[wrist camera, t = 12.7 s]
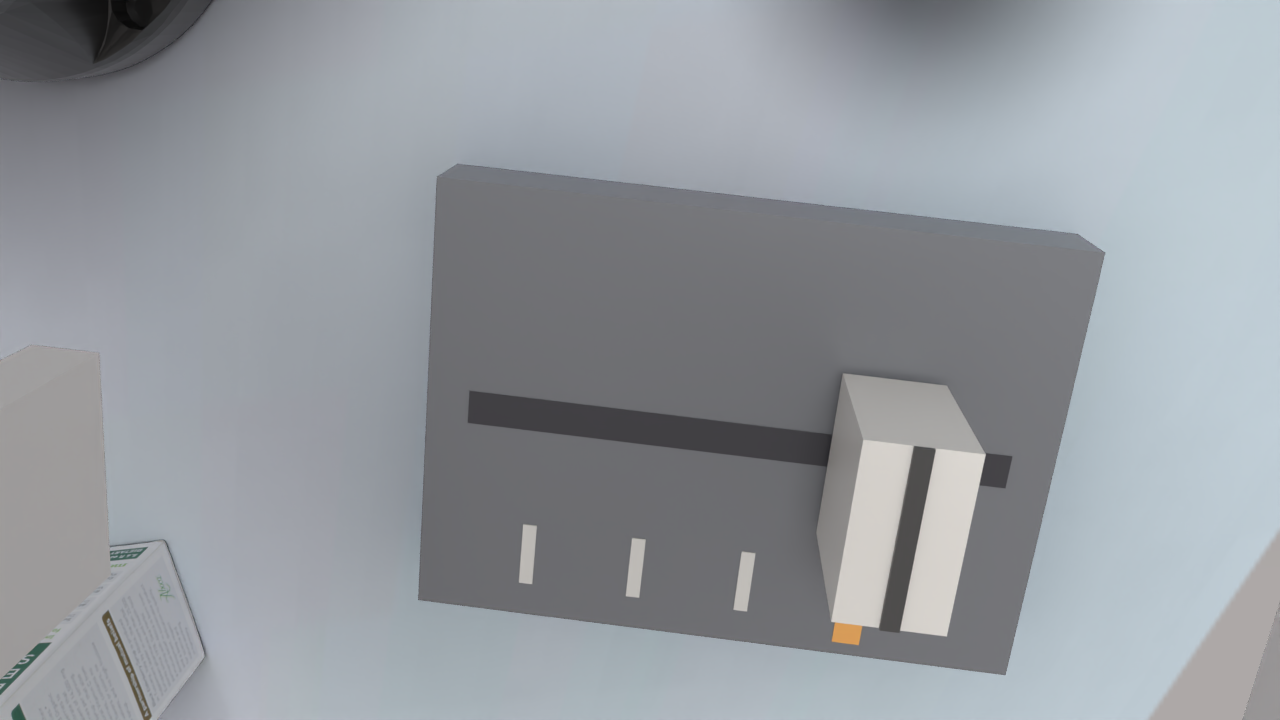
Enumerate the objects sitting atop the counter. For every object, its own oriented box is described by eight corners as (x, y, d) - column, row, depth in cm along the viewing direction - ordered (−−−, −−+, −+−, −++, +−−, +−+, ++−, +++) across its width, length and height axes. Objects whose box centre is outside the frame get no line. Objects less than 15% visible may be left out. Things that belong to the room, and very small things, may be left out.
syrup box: (167, 534, 46) (-73, 766, 32) (211, 659, 47) (1, 930, 34) (39, 554, 46) (-250, 789, 33) (88, 677, 48) (-168, 949, 34)
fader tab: (816, 532, 40) (831, 624, 34) (842, 373, 38) (863, 441, 32) (915, 544, 40) (947, 639, 34) (946, 385, 38) (987, 456, 32)
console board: (437, 561, 45) (417, 600, 42) (457, 164, 40) (436, 176, 37) (987, 631, 44) (1005, 675, 41) (1077, 234, 39) (1105, 252, 36)
